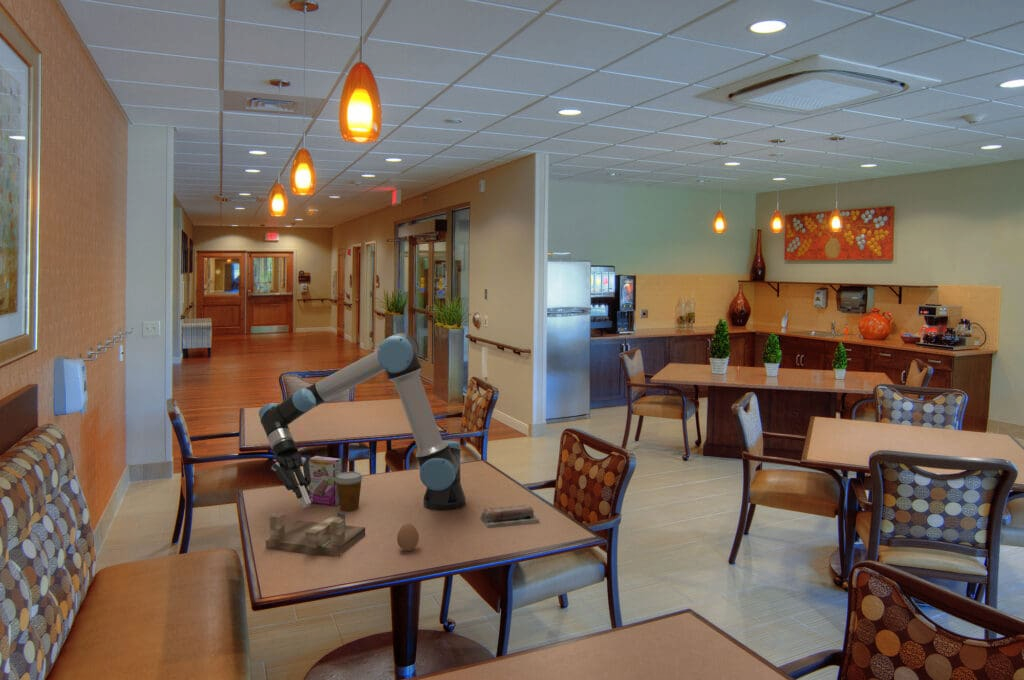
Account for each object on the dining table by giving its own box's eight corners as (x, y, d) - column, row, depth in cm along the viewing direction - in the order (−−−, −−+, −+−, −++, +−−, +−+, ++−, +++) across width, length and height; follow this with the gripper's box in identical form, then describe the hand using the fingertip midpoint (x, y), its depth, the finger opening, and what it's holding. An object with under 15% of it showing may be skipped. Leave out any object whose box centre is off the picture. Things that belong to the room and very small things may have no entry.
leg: (332, 530, 222) (332, 516, 222) (342, 531, 221) (342, 517, 221) (305, 546, 209) (305, 531, 209) (315, 547, 208) (315, 533, 208)
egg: (403, 545, 218) (403, 519, 217) (422, 547, 216) (422, 521, 215) (393, 553, 212) (393, 526, 211) (413, 555, 210) (412, 528, 209)
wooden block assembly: (365, 534, 226) (364, 505, 225) (337, 556, 209) (337, 524, 208) (298, 527, 232) (297, 498, 231) (265, 548, 215) (264, 517, 214)
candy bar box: (308, 503, 257) (307, 458, 255) (316, 499, 261) (315, 455, 260) (335, 506, 253) (334, 461, 251) (342, 502, 258) (341, 458, 256)
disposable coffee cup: (366, 504, 256) (366, 471, 254) (358, 513, 246) (357, 479, 245) (340, 503, 257) (340, 470, 255) (331, 512, 247) (330, 478, 246)
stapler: (487, 514, 232) (480, 505, 242) (487, 529, 233) (480, 519, 242) (539, 510, 237) (530, 500, 247) (539, 524, 238) (530, 514, 247)
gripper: (298, 447, 243) (323, 506, 233) (260, 454, 235) (284, 516, 224) (304, 435, 239) (330, 494, 228) (266, 441, 230) (291, 504, 219)
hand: (307, 505), depth 226 cm, fingers closed
